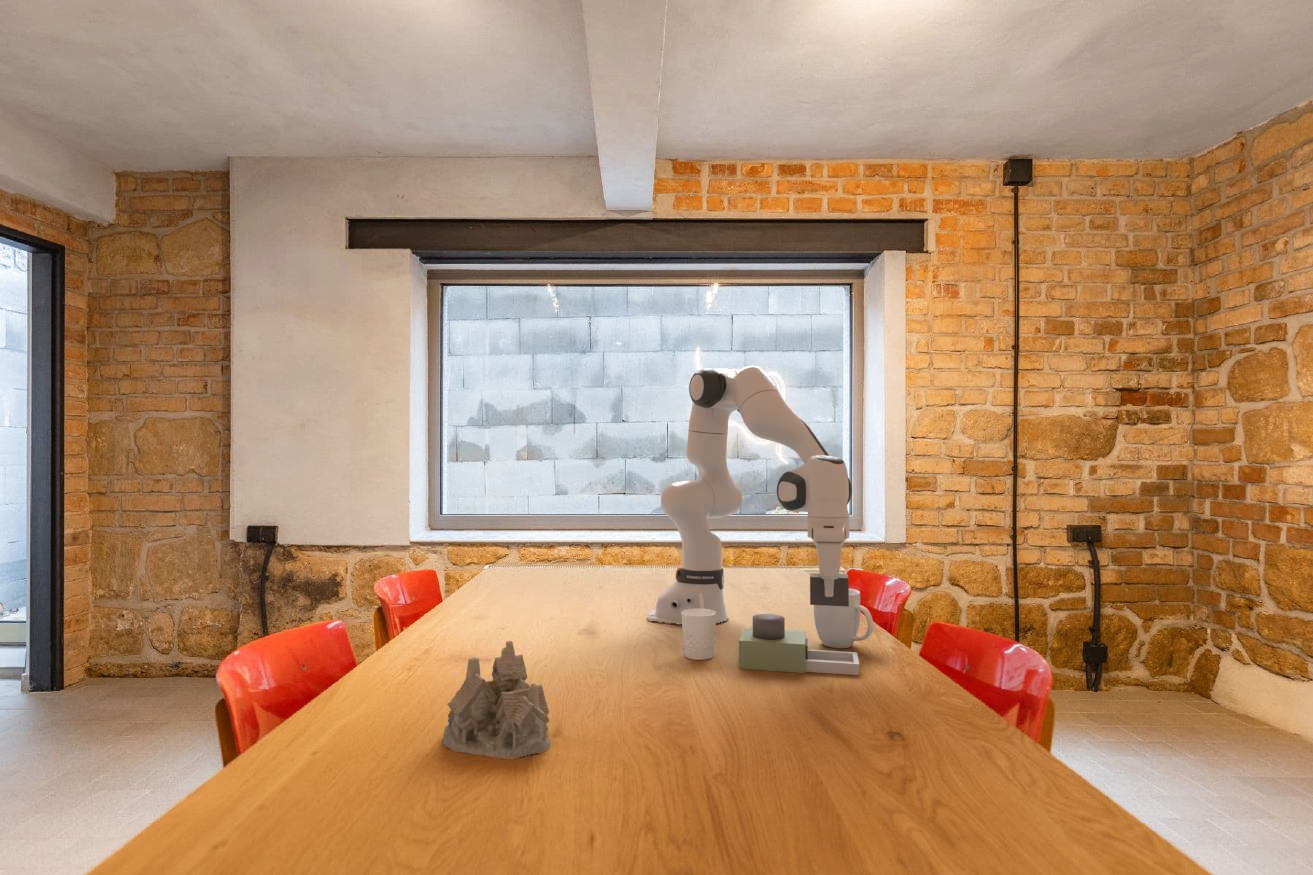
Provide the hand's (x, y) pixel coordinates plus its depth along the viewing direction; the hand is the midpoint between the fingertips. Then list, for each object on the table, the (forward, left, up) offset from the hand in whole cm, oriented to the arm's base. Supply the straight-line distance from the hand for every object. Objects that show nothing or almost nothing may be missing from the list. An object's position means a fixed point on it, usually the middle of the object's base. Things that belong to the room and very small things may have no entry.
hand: (828, 593), depth 150 cm
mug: (+3, +18, -16) cm, 24 cm away
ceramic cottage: (-53, -52, -16) cm, 76 cm away
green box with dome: (-7, 0, -16) cm, 17 cm away
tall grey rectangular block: (0, 0, -2) cm, 2 cm away
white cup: (-29, +2, -16) cm, 33 cm away
